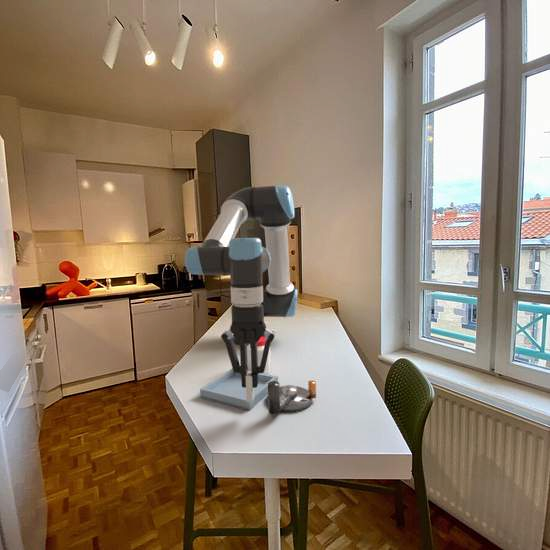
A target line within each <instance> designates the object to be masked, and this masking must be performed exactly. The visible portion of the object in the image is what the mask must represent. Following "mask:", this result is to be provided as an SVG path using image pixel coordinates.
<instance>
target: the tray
mask: <svg viewBox="0 0 550 550" xmlns="http://www.w3.org/2000/svg"><path fill="white" fill-rule="evenodd" d="M247 372H252V371H247ZM271 381H277V382H279V376H277V375H273V374H272V375H271V374H263V373H259V374H258V385H257V388H254V400H253V402H246V388H243V387H242V381H241V374H240V373H235V372H234V371H233V368H232V367H231V368H230V369H229V370H228V371H226V372H224V373H223V374H221V375H220V376H218V377H217V378H215V379H213V380H212V381H210V382H209V383H207V384H206V385H204V386H202V387H201V388H200V389H199V395H200V399H205V400H209V401H211V402H216V403H220V404H222V405H226V406H229V407H230V406H231V407H234V408H239V409H241V410H245V411H249V412H251V410H253V408H255V406H257V405H258V404H259V403H260V402H261V401H262V400H263V399H264V398H265V397H266V396H267V395H268V383H269V382H271Z"/></svg>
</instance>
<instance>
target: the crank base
mask: <svg viewBox="0 0 550 550" xmlns="http://www.w3.org/2000/svg"><path fill="white" fill-rule="evenodd" d="M307 383H308V384H307V386H308V389H306V388H304V387H302V386H296V385H295V386H296V387H297V397H295V398H292V399H290V401H289V402H288V403H287V404H286V405H285V406H284V407H283V408H282V409H281V411H280V413H281V412H282V413H297V412H302V411H305V410H307V409H308V408H310V407H311V406H312V404H313V399H316V398H317V382H316V380H309V381H307ZM284 386H285V385H282V386H279V388H280V396H281V395H282V387H284ZM266 396H267V397H266V399H267V403H268V394H267V395H266Z"/></svg>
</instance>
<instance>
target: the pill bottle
mask: <svg viewBox="0 0 550 550" xmlns="http://www.w3.org/2000/svg"><path fill="white" fill-rule="evenodd" d="M265 342H266V339H265V338H264V337H261V338H260V339H259V340H258V343H257V351H258V366H260V364H261V359H262V355H263V350H264V346H265ZM271 356H272V355H271V347H270V348H269V353H268V357H267V362H266V366H265V370H264V372H263V374H268V375H270V373H271V371H272V368H271V367H272V366H271V365H272V362H271V358H272V357H271ZM247 368H248V370H247V371H252V369H251V348H250V344H249V345H247Z"/></svg>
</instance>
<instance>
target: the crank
mask: <svg viewBox="0 0 550 550" xmlns="http://www.w3.org/2000/svg"><path fill="white" fill-rule="evenodd" d="M283 386H284V387H282V386H281V387H282V395H281V396H280V388H279V387H280V382H279V381H278V382H277V381H271V382H269V383H268V394H267V395H268V402H267V404H268V406H267V407H268V414H270V415H275V416H276V415H278V414H280V413H281V409H282V408H283V407H284V406H285V405H286V404H287V403H288V402H289V401H290V399H292V398H295V397H297V387H296V385H292V384H291V385H290V384H286V385H283Z"/></svg>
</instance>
